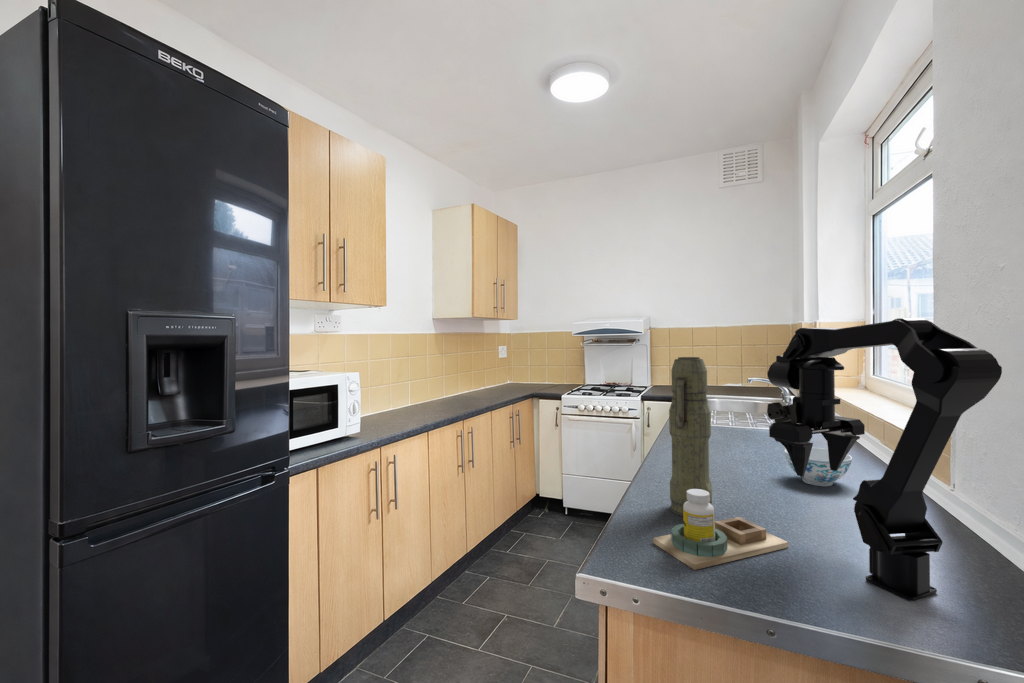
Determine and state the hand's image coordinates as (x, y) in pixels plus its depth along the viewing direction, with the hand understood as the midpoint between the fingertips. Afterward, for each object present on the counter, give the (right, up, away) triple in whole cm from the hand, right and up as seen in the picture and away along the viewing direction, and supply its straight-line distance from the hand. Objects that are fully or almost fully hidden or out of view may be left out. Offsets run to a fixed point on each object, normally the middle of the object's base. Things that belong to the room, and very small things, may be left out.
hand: (817, 473), depth 87 cm
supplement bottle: (-24, -13, -3) cm, 27 cm away
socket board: (-20, -13, -1) cm, 24 cm away
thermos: (-18, -13, +16) cm, 28 cm away
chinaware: (+23, -13, +34) cm, 43 cm away
